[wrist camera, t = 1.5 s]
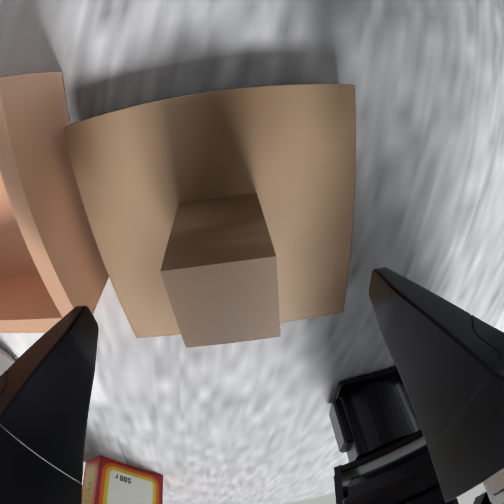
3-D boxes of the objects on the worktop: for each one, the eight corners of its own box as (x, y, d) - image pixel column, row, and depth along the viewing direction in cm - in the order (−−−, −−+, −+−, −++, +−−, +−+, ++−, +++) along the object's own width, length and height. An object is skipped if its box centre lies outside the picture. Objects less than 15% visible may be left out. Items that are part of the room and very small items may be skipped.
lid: (344, 84, 10) (426, 96, 6) (337, 299, 16) (373, 379, 12) (74, 122, 10) (-7, 160, 5) (139, 324, 16) (122, 409, 11)
